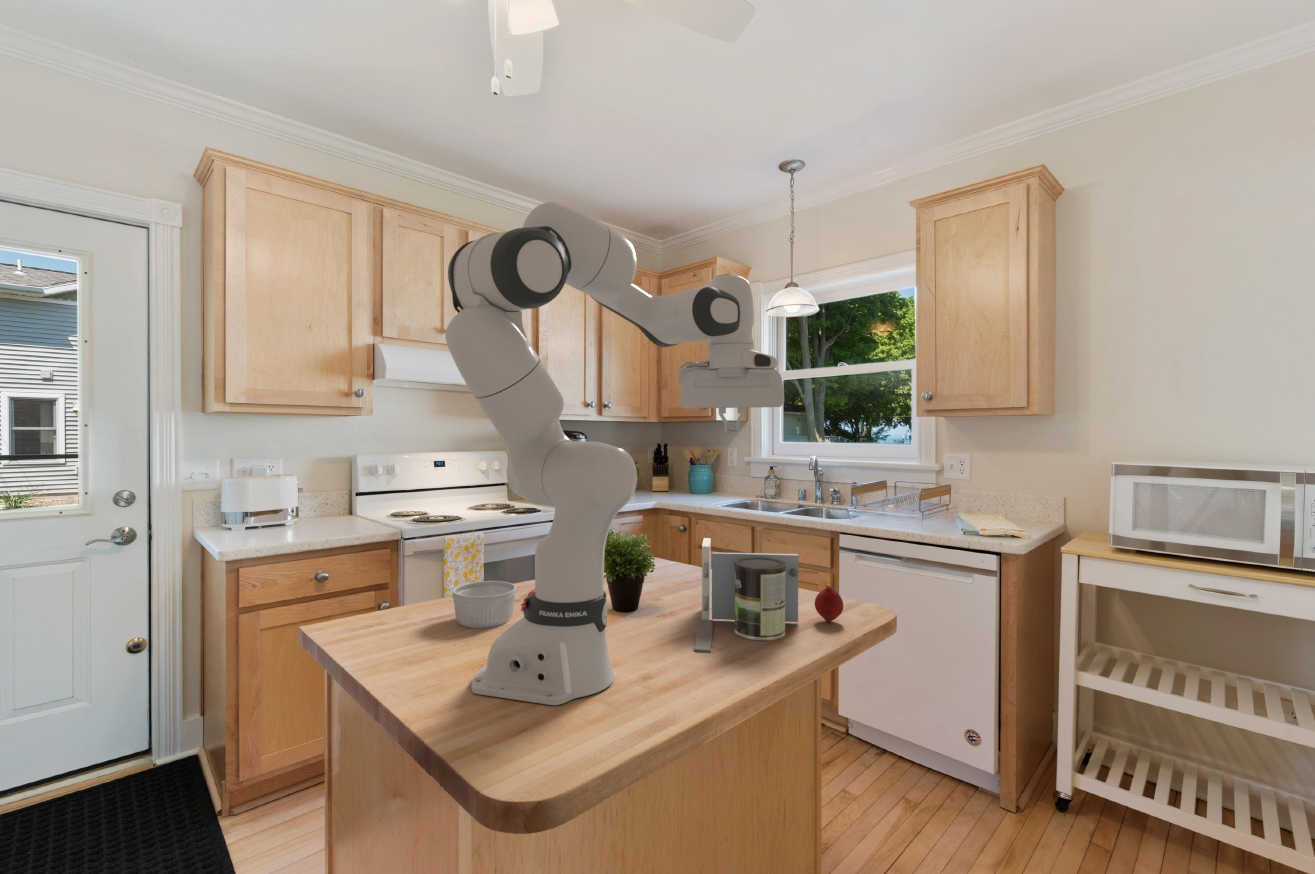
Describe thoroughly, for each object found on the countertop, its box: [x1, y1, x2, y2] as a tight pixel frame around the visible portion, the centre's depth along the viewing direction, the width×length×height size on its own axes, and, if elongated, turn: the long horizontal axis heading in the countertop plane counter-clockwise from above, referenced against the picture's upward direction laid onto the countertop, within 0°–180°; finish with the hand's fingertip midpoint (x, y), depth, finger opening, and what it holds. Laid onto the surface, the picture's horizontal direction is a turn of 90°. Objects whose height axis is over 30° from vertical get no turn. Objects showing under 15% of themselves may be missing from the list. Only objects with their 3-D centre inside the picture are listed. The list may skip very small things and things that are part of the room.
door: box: [711, 551, 799, 623], centre depth 130 cm, size 18×3×14 cm, turn 84°
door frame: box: [694, 537, 714, 653], centre depth 128 cm, size 3×28×16 cm, turn 174°
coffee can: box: [733, 557, 786, 642], centre depth 125 cm, size 10×10×14 cm
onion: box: [814, 583, 844, 623], centre depth 131 cm, size 6×6×8 cm
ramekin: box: [451, 580, 517, 629], centre depth 132 cm, size 13×13×7 cm
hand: (731, 431), depth 121 cm, fingers closed
